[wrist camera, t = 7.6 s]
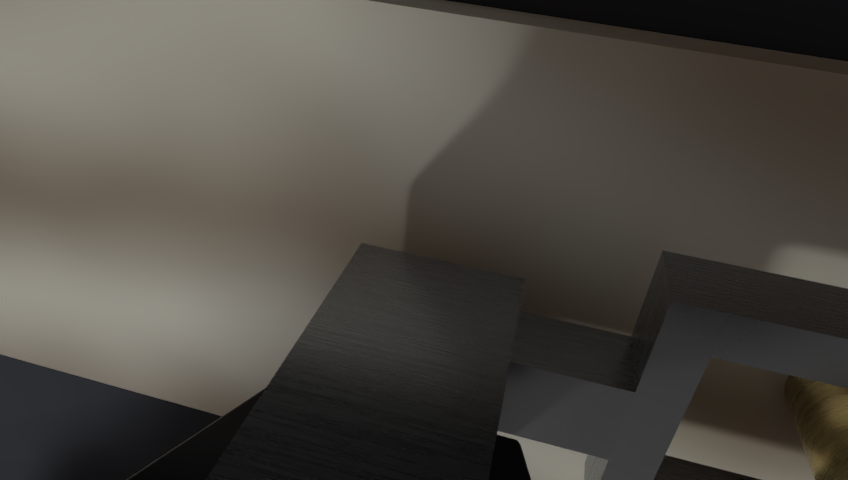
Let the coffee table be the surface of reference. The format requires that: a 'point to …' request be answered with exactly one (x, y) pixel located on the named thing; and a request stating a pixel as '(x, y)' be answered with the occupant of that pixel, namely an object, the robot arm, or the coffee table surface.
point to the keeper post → (821, 425)
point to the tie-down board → (395, 184)
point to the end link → (518, 371)
